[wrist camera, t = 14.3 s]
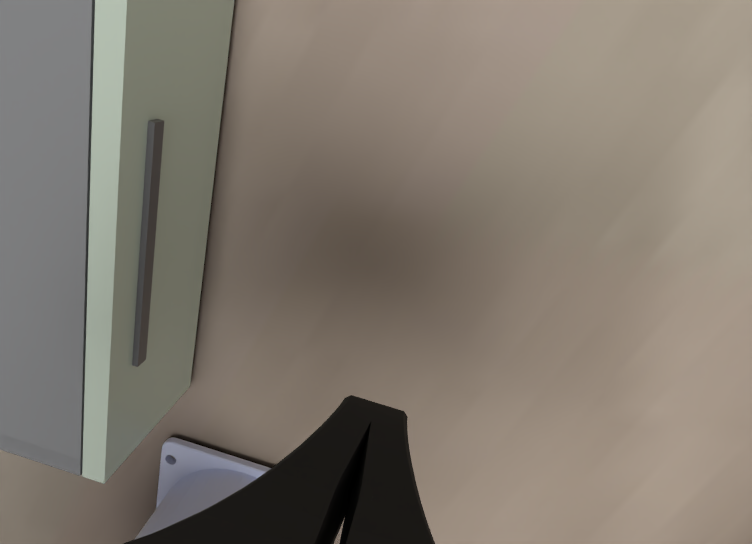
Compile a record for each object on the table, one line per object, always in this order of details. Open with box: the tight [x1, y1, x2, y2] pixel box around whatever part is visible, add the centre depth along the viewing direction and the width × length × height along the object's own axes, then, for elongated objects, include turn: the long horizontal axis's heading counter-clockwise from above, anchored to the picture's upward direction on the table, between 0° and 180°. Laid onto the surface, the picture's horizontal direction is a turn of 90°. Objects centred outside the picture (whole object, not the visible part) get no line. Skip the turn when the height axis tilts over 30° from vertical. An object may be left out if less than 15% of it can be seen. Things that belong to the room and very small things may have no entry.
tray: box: [82, 0, 234, 484], centre depth 19 cm, size 16×11×6 cm
